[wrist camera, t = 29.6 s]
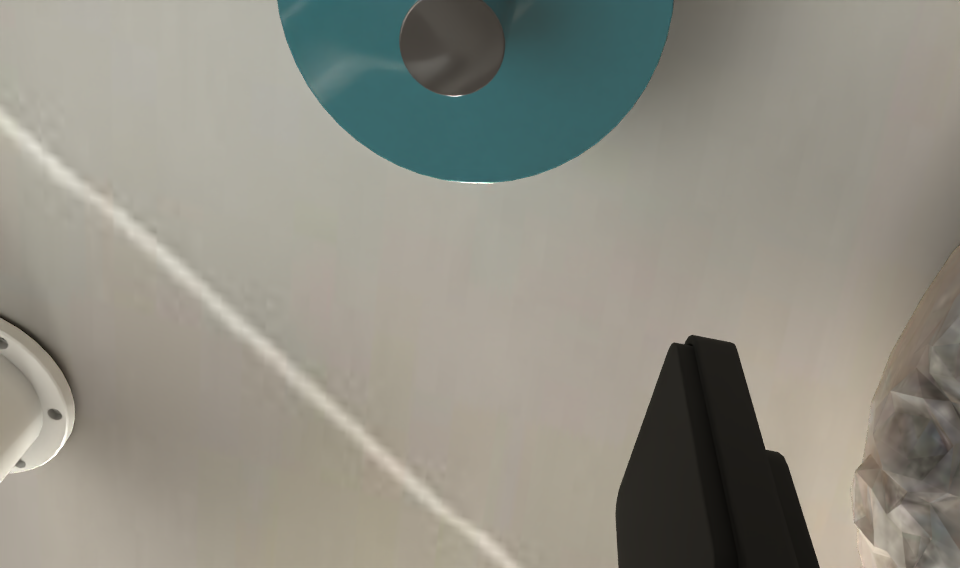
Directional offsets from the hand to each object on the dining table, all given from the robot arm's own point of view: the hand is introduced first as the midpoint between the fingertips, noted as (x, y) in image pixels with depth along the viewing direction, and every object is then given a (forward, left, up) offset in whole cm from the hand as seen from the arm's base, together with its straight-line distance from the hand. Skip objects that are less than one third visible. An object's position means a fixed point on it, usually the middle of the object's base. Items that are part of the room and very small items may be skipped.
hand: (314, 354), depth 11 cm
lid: (0, 0, -21) cm, 21 cm away
